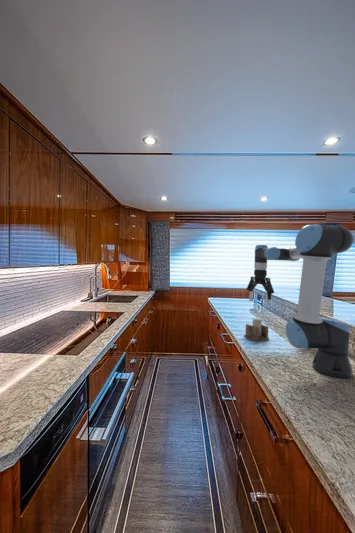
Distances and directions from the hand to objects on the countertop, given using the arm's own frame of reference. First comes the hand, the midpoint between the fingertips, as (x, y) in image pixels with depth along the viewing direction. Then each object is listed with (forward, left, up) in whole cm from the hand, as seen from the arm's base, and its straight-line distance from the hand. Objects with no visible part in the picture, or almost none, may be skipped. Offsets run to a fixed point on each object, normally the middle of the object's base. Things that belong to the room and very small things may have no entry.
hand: (259, 302), depth 147 cm
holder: (+1, 0, -23) cm, 23 cm away
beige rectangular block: (+1, 0, -22) cm, 22 cm away
